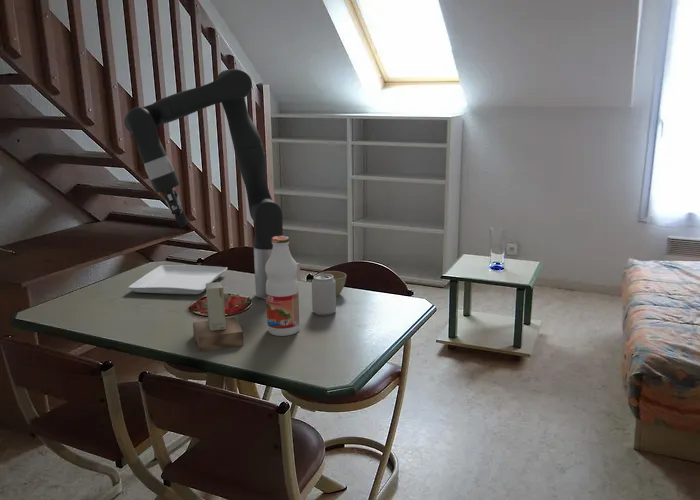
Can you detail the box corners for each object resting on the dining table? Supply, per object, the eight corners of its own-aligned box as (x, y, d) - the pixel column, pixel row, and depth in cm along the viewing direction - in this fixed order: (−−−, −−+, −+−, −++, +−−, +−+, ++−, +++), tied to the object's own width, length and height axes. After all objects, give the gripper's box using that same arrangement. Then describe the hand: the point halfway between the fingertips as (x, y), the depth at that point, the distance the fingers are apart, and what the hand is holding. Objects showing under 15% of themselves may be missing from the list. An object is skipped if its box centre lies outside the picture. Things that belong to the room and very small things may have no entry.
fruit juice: (306, 330, 179) (303, 237, 172) (280, 339, 173) (276, 243, 166) (286, 322, 186) (283, 232, 178) (261, 330, 179) (256, 237, 172)
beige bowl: (336, 301, 203) (336, 281, 202) (311, 296, 209) (311, 276, 207) (352, 293, 212) (352, 273, 210) (328, 288, 217) (327, 269, 215)
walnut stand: (235, 329, 180) (234, 316, 179) (243, 344, 169) (243, 331, 168) (193, 335, 176) (192, 322, 175) (199, 351, 165) (198, 337, 164)
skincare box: (226, 329, 169) (223, 287, 166) (210, 331, 168) (207, 289, 165) (223, 321, 175) (221, 281, 172) (208, 323, 174) (205, 282, 171)
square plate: (161, 273, 237) (160, 263, 236) (229, 275, 234) (228, 266, 233) (127, 296, 211) (126, 285, 210) (203, 299, 208) (202, 288, 207)
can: (340, 310, 195) (339, 274, 192) (329, 317, 189) (328, 280, 186) (319, 306, 199) (318, 271, 196) (308, 314, 192) (307, 277, 189)
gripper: (172, 170, 174) (195, 222, 178) (174, 169, 188) (195, 217, 192) (147, 180, 173) (170, 232, 177) (151, 178, 187) (173, 226, 191)
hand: (183, 224), depth 184 cm, fingers open, 8 cm apart
